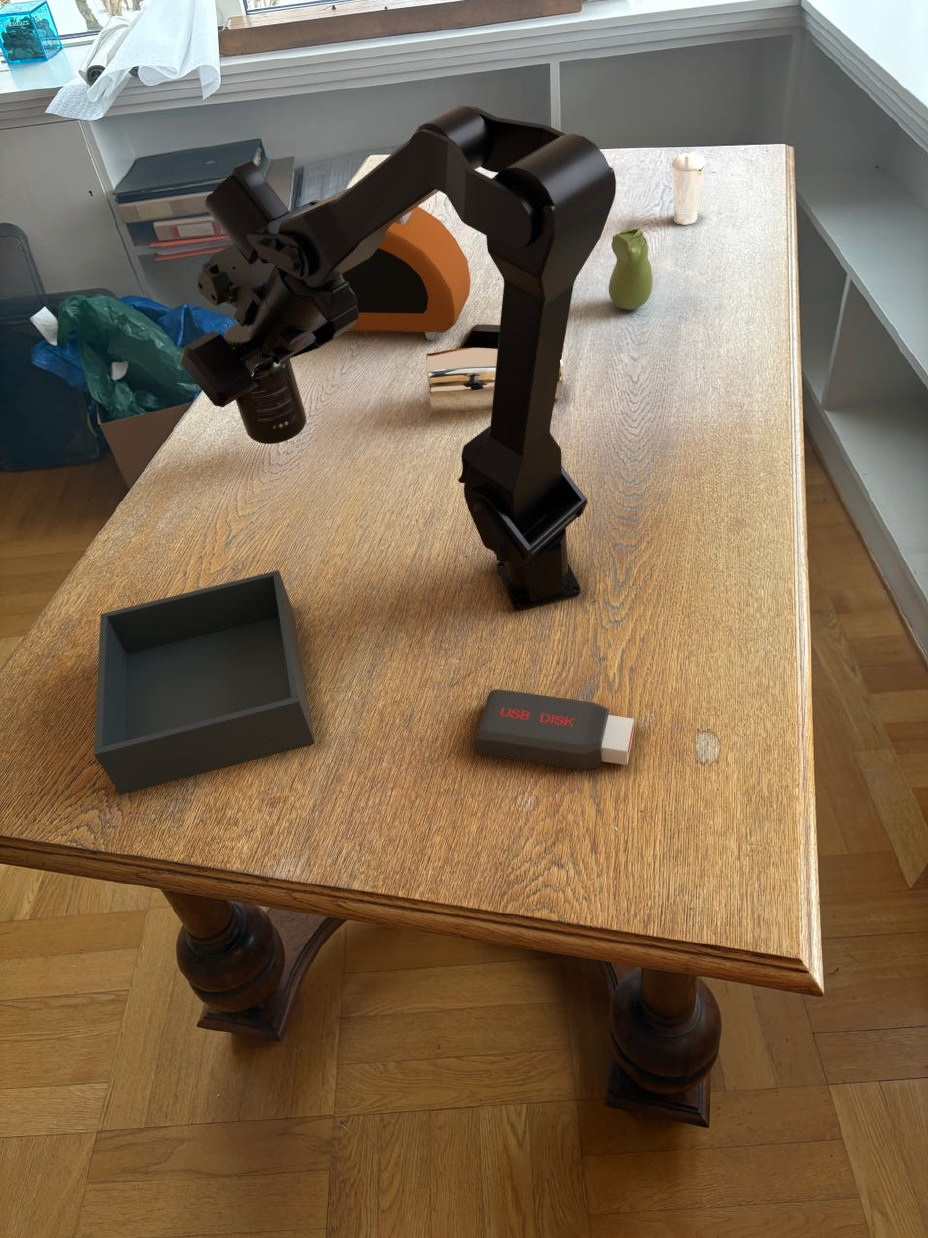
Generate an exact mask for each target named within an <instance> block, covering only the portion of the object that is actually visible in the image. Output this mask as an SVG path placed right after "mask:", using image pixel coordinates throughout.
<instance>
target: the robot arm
mask: <svg viewBox="0 0 928 1238" xmlns="http://www.w3.org/2000/svg"><path fill="white" fill-rule="evenodd" d="M410 137H411V138H409V139H408V140H407V141H406V142H405V143H403V144H402V145H401V146H400V147H398V148H397V149H396V150H395V151H393V152H392V153H391V154H390V155H388V156H387V157H386V158H385V159H384V160H383V161H381V162H380V163H379V164H378V165H376V166H375V167H374V168H372V170H370V171H369V172H368V173H366V175H364V176H363V177H362V178H360V179H359V180H357V182H355V183H354V184H353V185H352V186H350V187H347V188H346V189H343V190H341V191H338V192H336V193H334V194H332V195H330V196H328V197H326V198H324V199H313V200H311V201H309V202H307V203H305V204H302V205H301V206H299V207H297V208H295V209H293V210H291V211H290V209H289V208H288V207H287V205H285V203H284V202H283V200H282V199H281V197H279V195H278V194H277V192H276V191H275V189H273V187H272V186H271V185H270V184H269V182H268V180H267V179H266V177H265V175H264V174H263V172H262V171H261V169H260V168H259V167H258V165H257V164H256V163H255V162H254V160H253V159H249V160H247V161H245V162H243V163H241V164H238V165H236V166H234V167H233V168H232V172H231V174H230V175H229V176H228V177H226V178H224V179H223V181H221V182H220V184H218V185H217V186H216V187H215V189H214V190H213V191H212V192H211V193H210V194H208V195H207V196H206V198H205V201H204V207H205V209H206V210H207V212H208V213H209V214H210V215H211V217H212V219H213V220H214V221H215V222H216V223H217V225H218V226H219V227H220V228H221V230H222V231H223V232H224V234H225V235H226V236H227V238H228V239H229V240H230V241H231V243H232V244H231V245H229V246H228V247H225V248H223V249H221V250H220V251H218V252H216V253H214V254H212V255H210V257H209V260H208V261H206V262H205V263H202V267H201V268H202V269H201V270H200V271H198V272H197V274H198V275H197V278H196V280H197V281H196V282H197V283H196V284H197V289H198V291H199V293H200V294H201V295H202V296H203V297H204V298H205V299H207V300H208V301H209V302H210V303H211V304H212V305H213V306H215V307H217V306H220V305H221V304H223V303H226V304H228V305H231V306H232V307H234V308H235V309H236V310H235V312H234V315H233V318H234V319H235V320H236V323H239V324H240V325H241V326H242V327H243V326H245V325H246V326H247V327H248V334H249V337H250V339H251V340H249V341H247V342H245V343H244V344H242V345H240V346H239V347H237V348H233V349H232V348H231V346H230V345H229V344H228V343H227V341H226V340H225V339H224V335H222V333H220V332H216V331H214V330H211V331H210V332H208V333H206V334H204V335H201V336H200V337H199V338H197V339H195V340H193V341H192V342H190V343H188V344H186V345H185V346H184V348H183V350H182V353H181V355H180V365H181V366H182V367H183V368H184V369H185V370H186V372H187V374H189V375H190V377H191V378H192V379H193V381H194V382H195V383H196V384H197V386H198V387H199V388H200V389H201V390H202V392H203V393H204V394H205V396H206V397H207V398H208V399H209V401H210V402H211V403H212V404H213V406H215V407H219V408H224V407H226V406H228V405H229V404H231V403H232V402H235V401H236V399H237V398H240V397H241V396H243V395H244V394H246V393H248V392H249V391H251V390H252V389H254V388H256V387H257V386H258V385H257V384H256V382H255V381H254V380H253V379H252V377H253V375H254V368H255V367H257V366H259V365H260V364H262V363H264V362H265V361H267V360H269V359H270V358H272V359H273V360H274V362H275V363H276V364H277V365H278V364H279V363H281V362H283V361H284V360H286V359H288V358H290V359H293V358H296V357H298V356H301V355H304V354H307V353H310V352H312V351H315V350H318V349H320V348H321V347H323V346H325V345H327V344H328V343H330V342H331V341H333V340H334V339H335V338H337V337H338V336H340V335H342V334H344V333H345V332H346V331H349V330H348V329H350V328H351V327H353V326H354V324H355V323H356V321H357V320H358V318H359V313H358V308H357V300H356V296H355V294H354V293H353V291H352V290H351V289H350V287H349V284H348V282H347V281H344V279H343V277H342V274H343V273H344V272H346V271H348V270H349V269H351V268H353V267H355V266H356V265H358V264H360V263H361V262H363V261H365V260H367V259H368V258H370V257H371V256H372V255H373V254H374V252H375V251H376V250H377V249H378V247H379V246H380V245H381V244H382V242H383V241H384V240H385V238H386V231H387V230H388V229H389V227H390V226H391V225H392V224H393V223H394V222H396V221H397V220H399V219H400V218H401V217H403V216H404V215H406V214H407V213H409V212H410V211H411V210H413V209H414V208H416V207H417V206H418V207H419V206H420V205H422V204H423V203H424V202H426V201H428V200H429V199H431V198H432V197H433V196H434V195H436V194H437V193H439V192H441V193H443V194H444V195H446V197H447V199H448V200H449V202H450V204H451V205H452V207H453V209H454V211H455V212H456V214H457V216H458V217H459V219H460V221H461V222H462V223H463V224H464V225H466V226H468V227H470V228H471V229H473V230H475V231H477V232H478V233H480V234H482V235H484V236H486V247H487V253H488V255H489V256H490V258H491V259H492V261H493V263H494V265H495V266H496V268H497V271H498V272H499V273H500V275H501V276H502V278H503V290H502V300H501V310H500V311H501V312H500V322H499V325H500V331H499V341H498V351H497V362H496V372H495V382H494V393H493V403H492V407H491V413H490V425H489V426H488V427H486V428H485V429H484V430H482V431H481V432H480V433H479V434H477V435H475V437H473V438H471V440H469V441H468V442H467V443H465V444H464V445H463V446H462V451H461V455H460V457H461V465H462V467H461V469H462V470H461V473H460V475H459V478H458V479H457V481H458V483H459V484H463V496H464V500H465V504H466V507H467V509H468V512H469V514H470V516H471V519H472V522H473V524H474V526H475V528H476V531H477V533H478V535H479V537H480V540H481V542H482V544H483V547H484V548H485V549H488V550H490V551H492V552H493V554H494V555H495V559H496V561H498V562H496V567H495V568H496V571H497V573H498V576H499V578H500V582H501V583H502V586H503V588H504V591H505V593H506V595H507V599H508V601H509V603H510V605H511V608H512V609H513V610H514V611H523V610H526V609H530V608H534V607H538V606H542V605H545V604H550V603H554V602H557V601H561V600H565V599H569V598H572V597H577V596H579V595H580V594H581V592H582V590H581V586H580V584H579V581H578V580H577V577H576V576H575V574H574V572H573V569H572V567H571V566H570V563H569V560H568V544H567V543H568V541H567V527H568V526H570V525H571V524H572V523H573V522H574V521H575V520H577V518H580V517H581V516H582V515H583V514H584V512H585V509H586V507H587V505H588V499H587V497H586V496H585V495H584V493H583V492H582V491H581V489H580V488H579V486H577V484H576V483H575V481H574V480H573V479H572V478H571V477H572V476H570V475H569V473H568V472H567V470H566V469H565V468H564V466H563V465H562V448H561V446H560V445H559V444H558V442H557V440H556V439H555V438H554V435H553V434H552V433H551V424H552V419H553V412H554V407H555V400H556V399H555V395H556V389H557V383H558V377H559V371H560V365H561V359H562V360H563V351H564V346H565V340H566V335H567V328H568V321H569V315H570V309H571V304H572V298H573V292H574V286H575V283H576V279H577V278H578V275H579V274H580V272H581V270H582V269H583V267H584V265H585V264H586V263H587V261H588V259H589V258H590V256H591V254H592V252H593V251H594V249H595V248H596V246H597V244H598V243H599V241H600V240H601V237H602V234H603V232H604V229H605V226H606V224H607V221H608V218H609V215H610V212H611V211H612V207H613V204H614V201H615V198H616V193H617V178H616V173H615V170H614V168H613V167H612V166H610V165H609V163H608V161H607V158H606V156H605V154H604V153H603V152H602V150H601V149H600V148H599V146H597V144H596V143H595V142H593V141H591V140H590V139H588V138H587V137H585V136H583V135H579V134H574V133H569V134H567V133H564V132H563V131H560V130H558V129H556V128H554V127H552V126H550V125H546V124H543V123H537V122H536V123H535V122H530V121H523V120H518V119H510V118H504V117H498V116H495V115H493V114H491V113H489V112H487V111H485V110H483V109H481V108H480V107H477V106H471V105H458V106H456V107H454V108H452V109H450V110H448V111H446V112H443V113H442V114H440V115H438V116H436V117H434V118H432V119H430V120H429V121H426V122H425V123H422V124H420V125H419V126H418V127H417V128H416V130H415V131H414V133H413V135H412V136H410ZM479 168H481V169H483V170H486V171H489V172H491V173H495V175H494V176H493V177H489V176H487V175H486V174H484V173H482V172H480V171H478V170H477V169H479ZM259 351H261V352H260V353H261V354H260V353H259ZM257 352H258V353H257ZM256 353H257V355H256ZM254 354H255V355H254ZM252 355H254V357H253V356H252ZM251 356H252V357H251ZM249 357H251V359H250V358H249ZM247 358H249V359H248V361H247V360H246V359H247Z"/></svg>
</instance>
